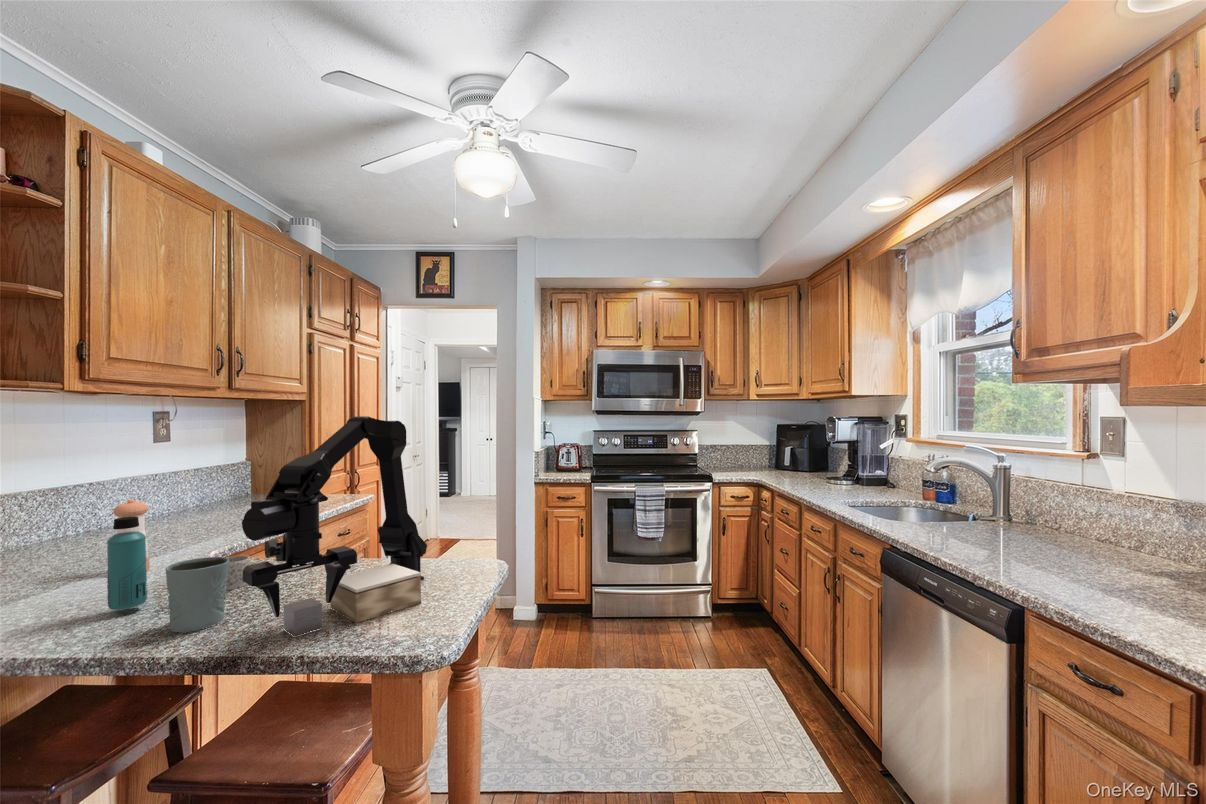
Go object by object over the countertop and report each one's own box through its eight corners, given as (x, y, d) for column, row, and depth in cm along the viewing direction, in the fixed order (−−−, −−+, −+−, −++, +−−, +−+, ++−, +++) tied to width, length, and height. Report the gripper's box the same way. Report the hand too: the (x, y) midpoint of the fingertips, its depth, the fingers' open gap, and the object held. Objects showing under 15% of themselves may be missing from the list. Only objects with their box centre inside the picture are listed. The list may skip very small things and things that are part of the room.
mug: (234, 581, 134) (233, 554, 134) (256, 583, 133) (256, 556, 133) (196, 595, 124) (195, 566, 124) (220, 597, 123) (219, 568, 123)
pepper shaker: (149, 572, 143) (148, 499, 143) (112, 578, 138) (111, 503, 139) (149, 566, 149) (148, 496, 149) (113, 571, 144) (113, 499, 144)
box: (393, 591, 125) (392, 566, 125) (420, 602, 117) (420, 577, 117) (330, 608, 115) (330, 582, 115) (356, 623, 107) (356, 594, 107)
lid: (392, 566, 125) (392, 563, 125) (420, 575, 117) (420, 572, 117) (330, 581, 115) (330, 578, 115) (356, 592, 107) (356, 589, 107)
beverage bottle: (138, 615, 113) (137, 519, 113) (99, 619, 111) (98, 521, 111) (154, 604, 119) (153, 513, 119) (117, 607, 117) (116, 515, 117)
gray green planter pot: (152, 633, 103) (151, 570, 103) (194, 613, 113) (194, 556, 113) (203, 634, 103) (202, 570, 103) (241, 613, 113) (241, 556, 113)
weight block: (311, 622, 107) (311, 597, 108) (322, 629, 104) (322, 603, 104) (284, 631, 104) (283, 604, 104) (294, 638, 100) (293, 611, 100)
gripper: (334, 515, 117) (335, 587, 116) (232, 531, 102) (233, 614, 102) (358, 521, 109) (359, 599, 109) (252, 540, 95) (253, 629, 95)
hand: (303, 609), depth 104 cm, fingers open, 9 cm apart
